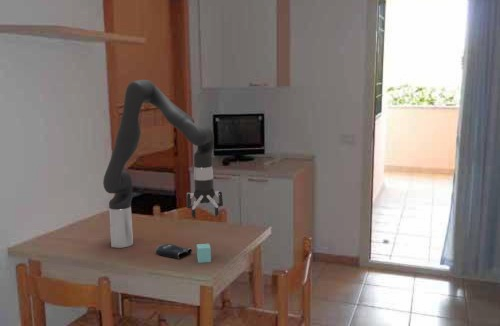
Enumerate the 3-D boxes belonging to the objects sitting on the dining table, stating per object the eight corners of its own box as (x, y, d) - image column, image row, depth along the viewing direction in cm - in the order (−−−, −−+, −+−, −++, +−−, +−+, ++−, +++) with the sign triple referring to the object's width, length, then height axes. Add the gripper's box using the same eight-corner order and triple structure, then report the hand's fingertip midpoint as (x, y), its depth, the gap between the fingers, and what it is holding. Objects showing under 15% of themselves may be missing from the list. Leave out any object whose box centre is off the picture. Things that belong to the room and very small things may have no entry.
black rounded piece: (193, 257, 209) (166, 246, 216) (193, 245, 207) (166, 234, 214) (178, 266, 201) (151, 255, 209) (178, 255, 199) (151, 243, 207)
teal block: (198, 263, 197) (198, 248, 196) (197, 258, 202) (196, 244, 201) (211, 261, 198) (210, 247, 197) (209, 257, 203) (209, 243, 202)
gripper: (186, 180, 192) (188, 221, 194) (222, 178, 194) (224, 218, 197) (185, 176, 199) (186, 216, 202) (220, 174, 202) (221, 213, 204)
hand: (205, 217), depth 199 cm, fingers open, 8 cm apart
